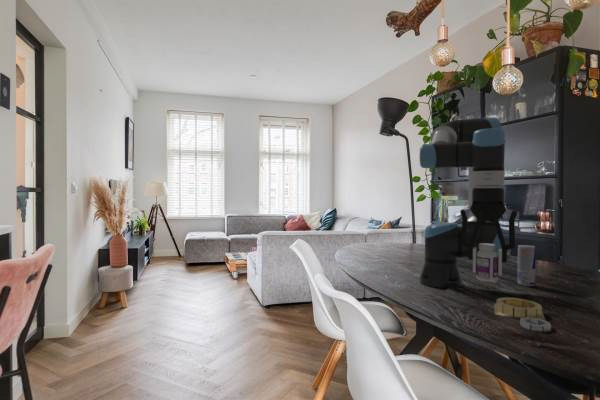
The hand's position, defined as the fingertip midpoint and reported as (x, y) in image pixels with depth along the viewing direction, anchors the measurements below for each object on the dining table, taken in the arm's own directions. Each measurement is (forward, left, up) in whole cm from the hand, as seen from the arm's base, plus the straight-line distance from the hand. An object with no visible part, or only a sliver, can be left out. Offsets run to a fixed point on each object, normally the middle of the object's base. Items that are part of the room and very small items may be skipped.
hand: (486, 272), depth 96 cm
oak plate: (+8, +10, -13) cm, 19 cm away
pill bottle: (0, 0, -2) cm, 2 cm away
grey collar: (+11, -1, -13) cm, 17 cm away
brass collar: (+8, +10, -13) cm, 18 cm away
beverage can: (+13, +50, -14) cm, 54 cm away
